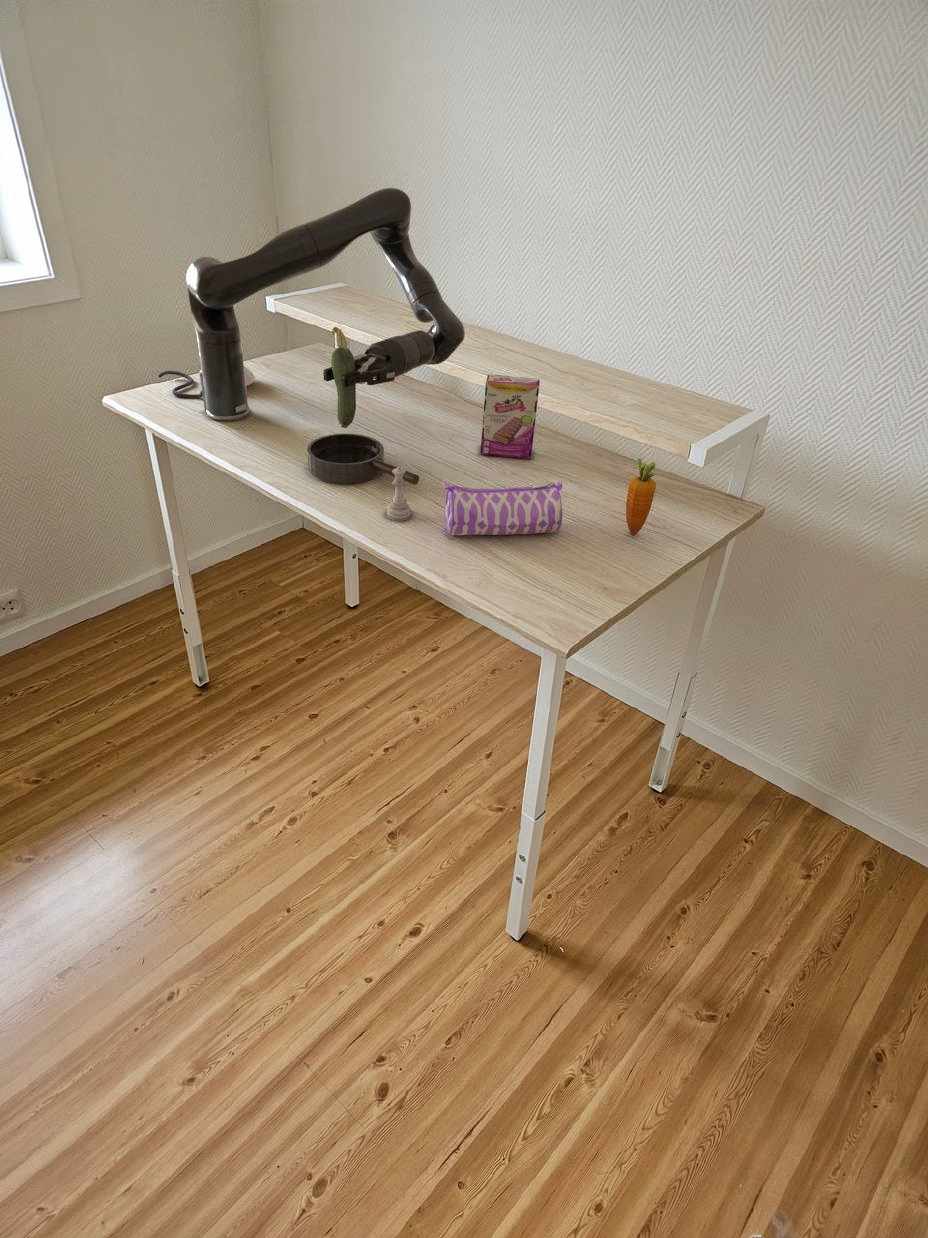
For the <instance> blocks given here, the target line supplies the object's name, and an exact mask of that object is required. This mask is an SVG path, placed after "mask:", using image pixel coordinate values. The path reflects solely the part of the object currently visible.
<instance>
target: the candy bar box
mask: <svg viewBox="0 0 928 1238" xmlns="http://www.w3.org/2000/svg"><path fill="white" fill-rule="evenodd" d="M485 380H486V381H485V389H484V400H483V401H484V402H483V416H482V427H481V440H480V442H481V443H480V455H482V456H493V457H501V458H502V457H503V458H512V459H513V458H514V459H523V460H524V459H525V460H531V459H532V453H533V446H534V438H535V437H534V436H535V430H536V429H535V428H536V421H537V420H536V419H537V410H538V403H539V394H540V393H539V392H540V384H541V380H540V378H533V377H524V376H512V375H501V374H493V373H492V374H490V373H487V377H486V379H485Z"/></svg>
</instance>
